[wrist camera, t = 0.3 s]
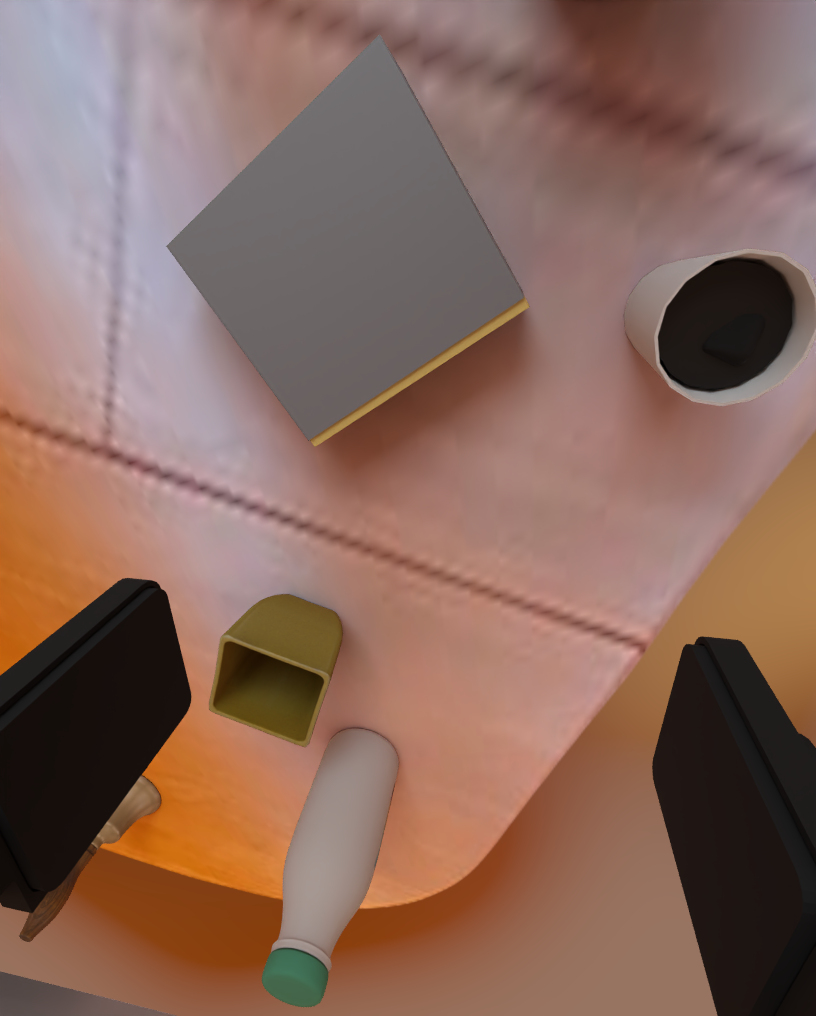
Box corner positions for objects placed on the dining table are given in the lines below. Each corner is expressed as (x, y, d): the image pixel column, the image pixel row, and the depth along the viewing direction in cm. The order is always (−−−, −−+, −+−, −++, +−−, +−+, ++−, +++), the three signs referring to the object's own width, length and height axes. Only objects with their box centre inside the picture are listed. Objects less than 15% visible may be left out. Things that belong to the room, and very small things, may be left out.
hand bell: (173, 810, 65) (78, 963, 51) (122, 813, 68) (18, 959, 54) (140, 764, 62) (29, 912, 48) (88, 768, 65) (-31, 911, 51)
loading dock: (400, 68, 29) (379, 34, 25) (527, 300, 33) (529, 307, 29) (210, 248, 35) (166, 246, 31) (336, 426, 39) (313, 447, 35)
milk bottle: (317, 729, 54) (220, 959, 36) (385, 721, 52) (317, 963, 34) (344, 780, 57) (266, 1018, 39) (410, 775, 54) (359, 1025, 37)
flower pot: (339, 672, 50) (306, 751, 42) (255, 640, 50) (206, 712, 42) (363, 603, 46) (331, 676, 38) (271, 569, 46) (220, 633, 38)
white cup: (758, 274, 30) (859, 280, 21) (694, 382, 33) (759, 426, 24) (650, 235, 30) (706, 224, 22) (596, 346, 34) (626, 377, 25)
